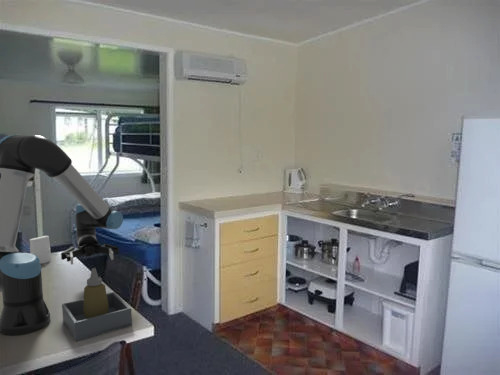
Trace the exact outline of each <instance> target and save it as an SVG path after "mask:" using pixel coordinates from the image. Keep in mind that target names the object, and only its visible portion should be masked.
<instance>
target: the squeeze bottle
mask: <svg viewBox="0 0 500 375" xmlns="http://www.w3.org/2000/svg"><path fill="white" fill-rule="evenodd" d="M107 294H108V293H107V289H106V285H105V283H103V280H102V277H100V276H99V275H98V272H97V269H96V267H92V268H91V272H90V278H87V279H86V285H85V287H84V289H83V299H84V305H83V313H84V315H85V317H86V319H88V318H91V317H95V316H99V315H103V314H107V313H108V309H109V306H108V300H107Z"/></svg>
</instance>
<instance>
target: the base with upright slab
mask: <svg viewBox="0 0 500 375" xmlns="http://www.w3.org/2000/svg"><path fill="white" fill-rule="evenodd" d="M50 244H51V243H50V236H49V235H43V236H39V237H38V236H37V237H33V238H29V248H30V250H29V252H30V253H31V254H34V255H36V256H37V257H38V258H39V260H40V264H41V265H42V264H46V263H49V262H51V261H52V254H51V251H52V250H51V245H50Z"/></svg>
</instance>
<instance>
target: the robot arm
mask: <svg viewBox="0 0 500 375" xmlns="http://www.w3.org/2000/svg"><path fill="white" fill-rule="evenodd" d="M72 163H73V160H72V159H71V158H70V156H68V154H67V153H66V152H65V151H64V149H62V148H61V147H60V146H59V145H58V144H56V143H55V142H53V141H52V140H50V139H49V138H47V137H45V136H42V135H38V134H32V135H31V134H30V135H29V134H27V135H26V134H13V135H7V136H4V137H2V138H1V139H0V292H1V295H2V305H3V306H2V309H1V310H2V311H1V313H0V333H1V334H2V335H7V336H8V335H9V336H17V335H25V334H29V333H33V332H35V331H36V332H37V331H39V330H40V329H43V328H45V327H46V326H47V325H49V324H50V323H51V312H50V310H49V308H48V306H47V305H46V302H45V300H44V294H43V293H44V292H43V278H42V263H41V264H40V260H39V258H38V257H37V256H36V255H34V254H31V253H29V252H19V251H20V250H19V249H18V248H17V246H16V242H17V239H18V233H19V228H20V224H21V217H22V215H23V214H22V213H23V208H24V205H25V200H26V199H25V198H26V193H27V190H28V185H29V180H30V179H31V178H32V177H34V176H35V174H36V169H37V170H40V171H42V172H43V173H45V174H46V175H47V176H48V177H49V178H52V179H53V178H54V179H55V180H56V182H58V183H59V185H61V186H62V188H64V190H65V191H67V193H68V194H69V195H70V196H71V197H72V198H73V199H74V200H75V201H76V202H77V205H75V221H76V225H75V226H76V243H77V247H75V246H74V245H73V246H72V245H71V246H70V247H69V248H67V249H65V250H64V251H62V252H61V253H60V257H61V258H60V259H61V260H62V261H64V260H66V262H69V263H70V265H74V258H76V257H80V256H85V257H92V256H94V255H95V254H96V255H100V254H102V255H103V254H105V255H108V256H109V258H110V260H111V261H113V260H114V256H116V255H118V254H120V248H119V246H116V245H112V244H109V243H107V242H105V243H104V244H103V245H101V244H99V242H98V239H97V236H96V235H97V234H96V228H99V229H107V230H118V229H119V228H121V226H122V225H123V223H124V222H123V221H124V217H123V214H122V213H121V212H120V211H118V210H116V209H115V210H113V209H112V208H111V207H110V206H109V205H108V204H107V203H106V201H105V200H104V199H103V198H102V197H101V196H100V194H98V193H97V191H96V190H95V189H94V188H93V187H92V186H91V184H90V183H89V182H87V180H86V179H85V178H84V177H83V176H82V174H81V173H80V172H79V171H78V170H77V169H76V168H75V166H73V165H72Z"/></svg>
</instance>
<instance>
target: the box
mask: <svg viewBox="0 0 500 375" xmlns="http://www.w3.org/2000/svg"><path fill="white" fill-rule="evenodd" d="M106 294H107V300H108V306H109V309H108V313H107V314H103V315H99V316H95V317H91V318H88V319H86V317H85V315H84V313H83V305H84V298H82V299H78V300H73V301H69V302H65V303H61V312H62V322H63V323H64V324H65V327H66V329H68V331H69V333H70V334H71V336H72V338H73V339H74V341H75V342H78V341H82V340H87V339H90V338H93V337H97V336H100V335H103V334H107V333H111V332H115V331H118V330H122V329H125V328H128V327H132V326H133V320H132V319H133V318H132V308H131V306H129V305H128V303H126V301H124V300H123V299H122V298H121V297H120V296H119V295H118V294H117V293H116V292H115V291H113V292H108V293H106Z"/></svg>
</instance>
